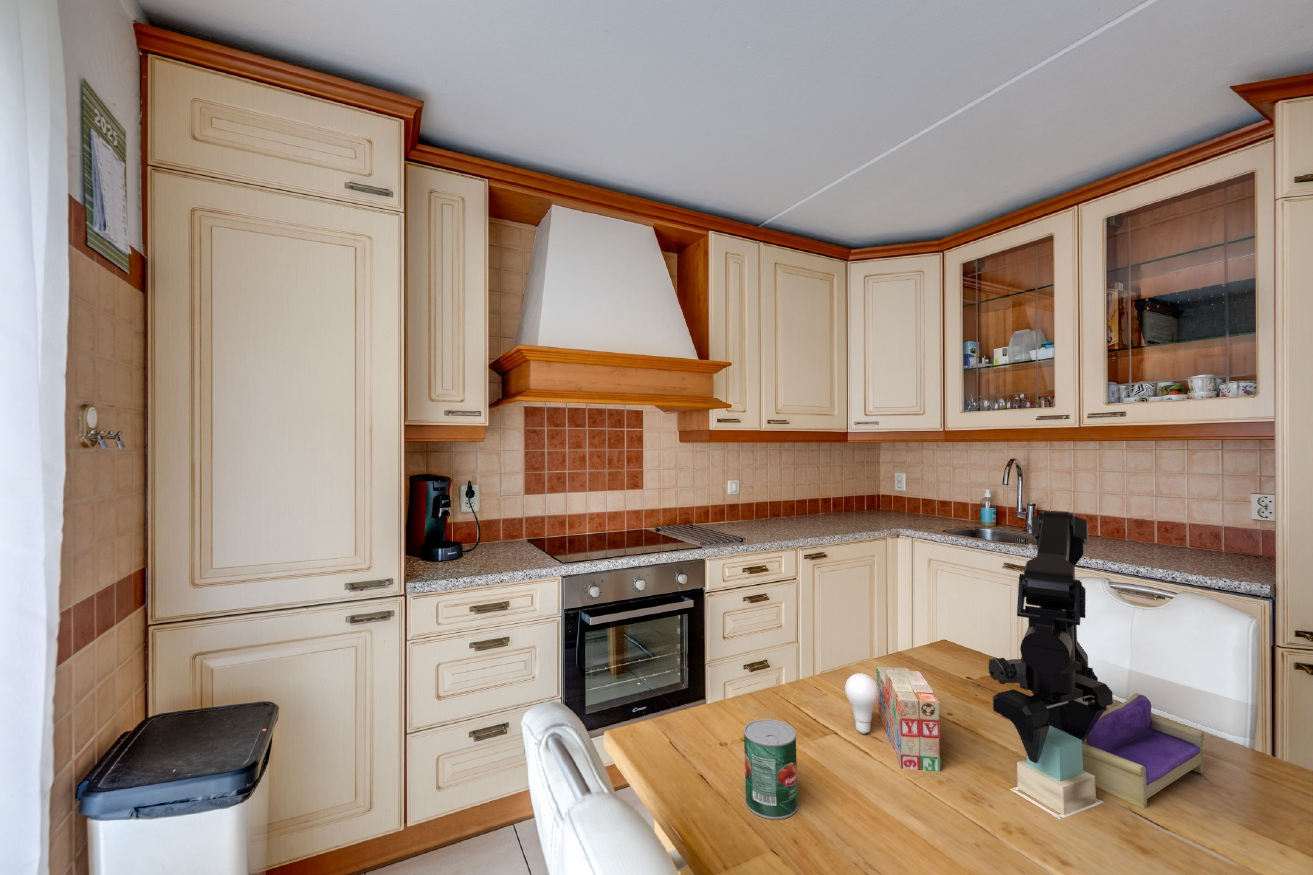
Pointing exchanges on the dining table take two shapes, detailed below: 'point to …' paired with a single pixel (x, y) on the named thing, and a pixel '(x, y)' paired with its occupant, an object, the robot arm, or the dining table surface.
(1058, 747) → the teal block
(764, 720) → the canned tomato
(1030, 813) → the dining table surface
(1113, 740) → the toy sofa
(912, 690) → the stack of blocks
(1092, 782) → the block
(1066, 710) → the robot arm
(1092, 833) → the dining table surface
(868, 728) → the lightbulb
